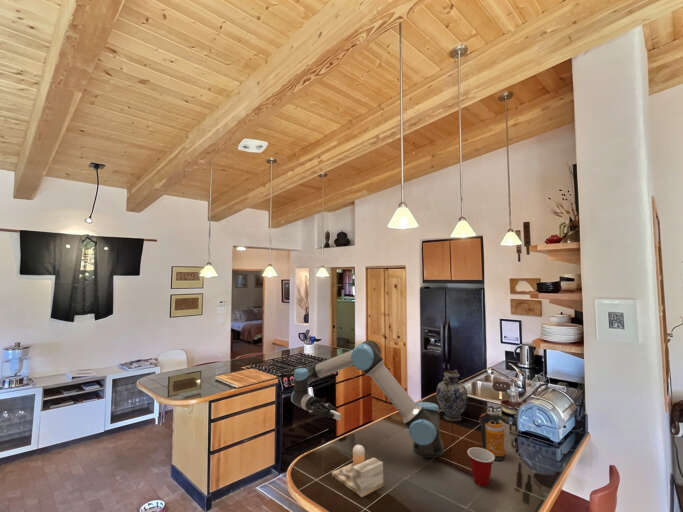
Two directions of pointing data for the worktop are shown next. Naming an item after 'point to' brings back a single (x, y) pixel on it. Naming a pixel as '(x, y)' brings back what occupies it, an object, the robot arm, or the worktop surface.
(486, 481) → the plastic cup
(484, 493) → the worktop surface
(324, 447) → the worktop surface
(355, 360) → the robot arm
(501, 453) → the canister
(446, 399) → the decorative vase
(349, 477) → the knob mount
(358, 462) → the plunger knob
